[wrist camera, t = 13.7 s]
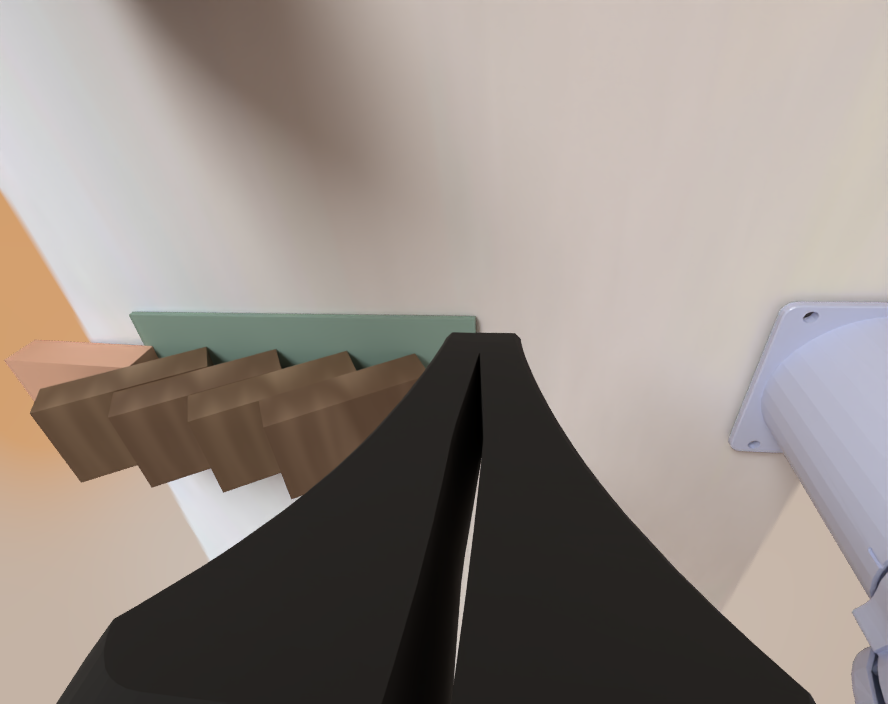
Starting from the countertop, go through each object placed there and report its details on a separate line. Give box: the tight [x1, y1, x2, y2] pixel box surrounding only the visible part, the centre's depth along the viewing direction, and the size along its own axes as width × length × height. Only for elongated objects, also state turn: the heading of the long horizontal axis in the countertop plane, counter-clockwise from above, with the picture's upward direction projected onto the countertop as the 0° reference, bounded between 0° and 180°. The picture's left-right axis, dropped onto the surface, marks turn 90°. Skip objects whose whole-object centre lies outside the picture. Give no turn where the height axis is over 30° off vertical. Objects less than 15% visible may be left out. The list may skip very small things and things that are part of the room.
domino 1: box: [30, 347, 214, 482], centre depth 23 cm, size 2×4×7 cm
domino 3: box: [188, 351, 356, 492], centre depth 22 cm, size 2×4×7 cm
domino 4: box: [259, 353, 425, 499], centre depth 22 cm, size 2×4×7 cm
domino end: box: [4, 340, 159, 402], centre depth 25 cm, size 2×4×7 cm
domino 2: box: [108, 349, 282, 487], centre depth 23 cm, size 2×4×7 cm
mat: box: [129, 312, 476, 371], centre depth 24 cm, size 17×8×1 cm, turn 93°
